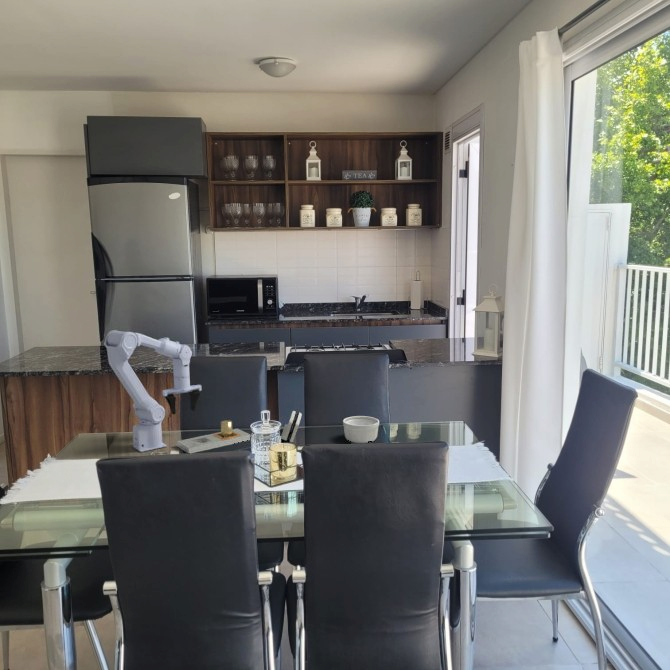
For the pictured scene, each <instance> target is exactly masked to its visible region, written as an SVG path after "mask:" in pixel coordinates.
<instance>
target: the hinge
mask: <svg viewBox="0 0 670 670" xmlns="http://www.w3.org/2000/svg"><path fill="white" fill-rule="evenodd" d="M302 415H303V414H302V413H301V412H297V411H295V410H292V411H291V415H290V418H289V422H288V423H287V424H285V425H284V427H283V429H282V433H281V436H280V438H282V440H284V441H289V442H290V443H294V440H295V438H296V434H297V431H298V429H299V425H300V423H301V419H302Z"/></svg>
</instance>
